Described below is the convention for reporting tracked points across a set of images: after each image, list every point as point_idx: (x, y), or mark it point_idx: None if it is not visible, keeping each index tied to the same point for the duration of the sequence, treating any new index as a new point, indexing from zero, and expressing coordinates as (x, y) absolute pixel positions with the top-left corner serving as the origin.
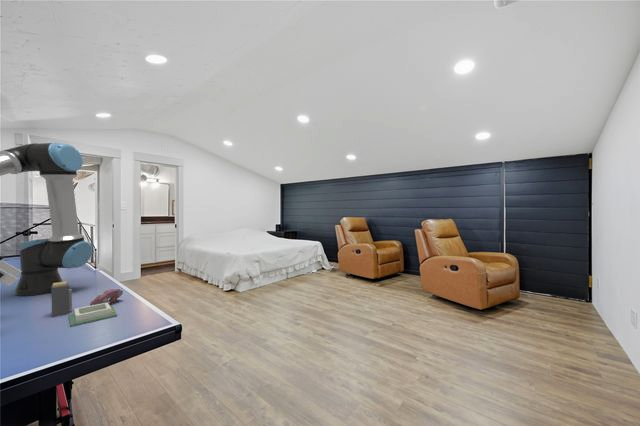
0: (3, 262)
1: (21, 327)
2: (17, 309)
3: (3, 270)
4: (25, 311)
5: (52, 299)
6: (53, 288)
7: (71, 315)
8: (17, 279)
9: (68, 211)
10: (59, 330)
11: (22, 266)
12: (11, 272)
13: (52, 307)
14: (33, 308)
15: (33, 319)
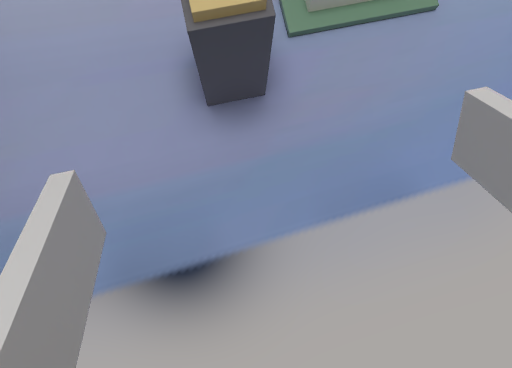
0: (14, 335)
1: (347, 169)
2: None
3: (77, 312)
4: None
5: (270, 51)
6: (271, 8)
7: (314, 20)
8: (487, 91)
9: None
10: (456, 36)
11: None
12: (81, 246)
13: (266, 73)
14: None
15: (258, 155)
